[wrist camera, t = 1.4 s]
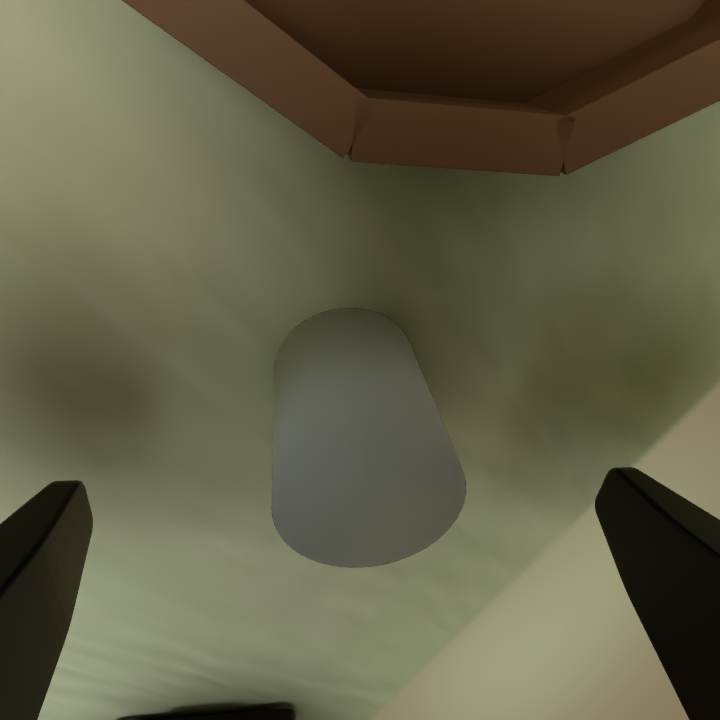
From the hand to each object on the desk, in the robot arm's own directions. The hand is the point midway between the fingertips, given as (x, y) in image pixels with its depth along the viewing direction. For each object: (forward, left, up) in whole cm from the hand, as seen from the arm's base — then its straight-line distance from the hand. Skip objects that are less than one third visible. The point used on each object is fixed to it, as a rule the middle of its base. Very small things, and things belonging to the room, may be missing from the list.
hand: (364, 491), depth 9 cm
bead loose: (0, 0, -4) cm, 4 cm away
